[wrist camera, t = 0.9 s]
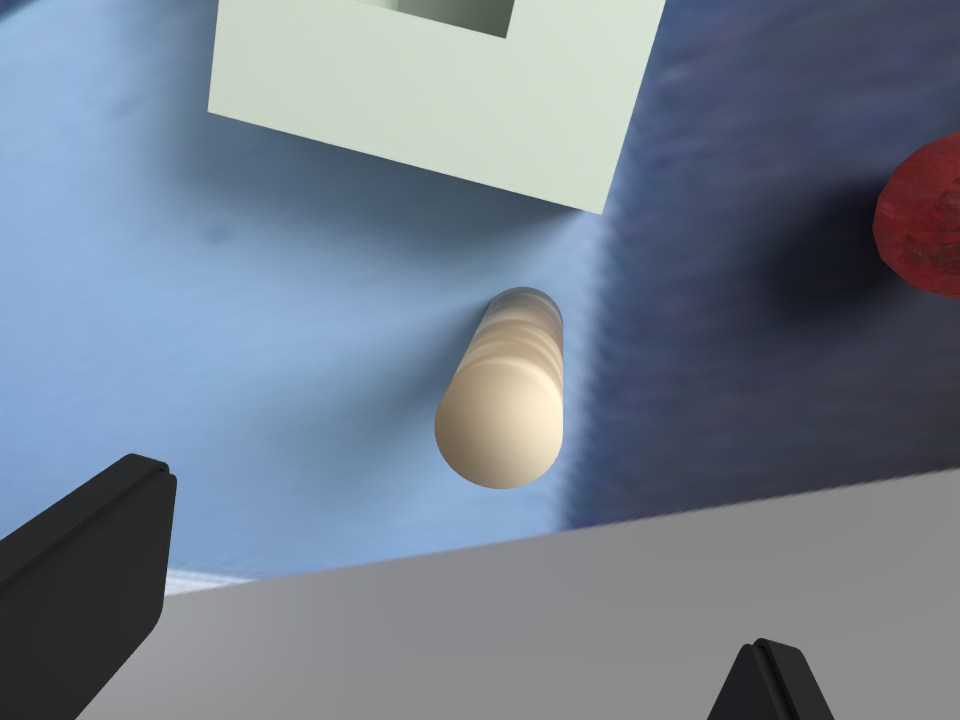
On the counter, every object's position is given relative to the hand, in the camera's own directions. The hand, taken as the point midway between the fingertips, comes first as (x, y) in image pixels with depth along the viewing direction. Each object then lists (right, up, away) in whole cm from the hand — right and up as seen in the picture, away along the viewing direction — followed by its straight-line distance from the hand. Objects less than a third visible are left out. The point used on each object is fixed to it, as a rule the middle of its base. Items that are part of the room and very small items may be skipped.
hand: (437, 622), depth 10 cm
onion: (+18, +10, +16) cm, 26 cm away
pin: (+3, +6, +19) cm, 20 cm away
